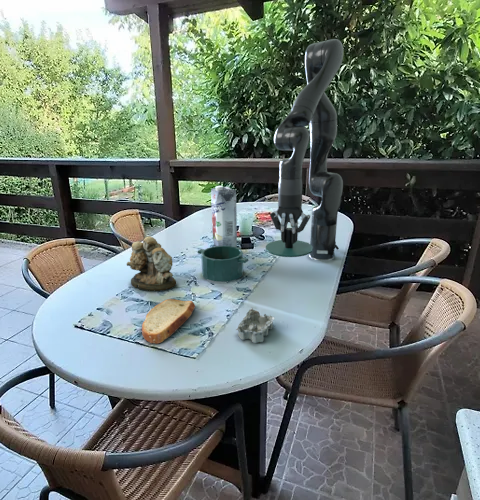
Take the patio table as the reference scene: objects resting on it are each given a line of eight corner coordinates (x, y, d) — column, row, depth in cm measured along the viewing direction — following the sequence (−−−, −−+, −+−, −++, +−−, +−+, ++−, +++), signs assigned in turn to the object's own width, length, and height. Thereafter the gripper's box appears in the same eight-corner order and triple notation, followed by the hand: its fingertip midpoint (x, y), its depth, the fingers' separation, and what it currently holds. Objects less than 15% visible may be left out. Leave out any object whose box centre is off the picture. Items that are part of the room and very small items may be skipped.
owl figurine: (121, 287, 126) (114, 240, 120) (138, 274, 136) (133, 230, 130) (168, 294, 120) (163, 245, 114) (182, 279, 130) (179, 234, 124)
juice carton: (229, 242, 166) (228, 182, 157) (238, 249, 157) (238, 186, 147) (211, 245, 163) (209, 184, 154) (219, 252, 154) (217, 188, 145)
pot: (211, 262, 144) (210, 242, 141) (256, 272, 133) (256, 251, 130) (188, 276, 133) (187, 254, 130) (235, 288, 122) (235, 264, 119)
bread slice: (147, 347, 92) (146, 334, 91) (131, 314, 108) (130, 303, 107) (212, 329, 99) (211, 317, 98) (188, 301, 114) (187, 290, 113)
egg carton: (251, 319, 103) (251, 306, 102) (276, 326, 99) (277, 312, 98) (233, 337, 95) (233, 324, 93) (260, 346, 91) (260, 332, 89)
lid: (277, 240, 135) (277, 220, 132) (319, 246, 126) (320, 225, 123) (257, 254, 123) (257, 232, 120) (302, 262, 114) (303, 238, 112)
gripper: (315, 190, 116) (313, 242, 122) (275, 188, 124) (274, 236, 130) (307, 195, 111) (304, 249, 117) (265, 192, 118) (265, 242, 124)
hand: (289, 242), depth 123 cm, fingers closed on lid, 2 cm apart
